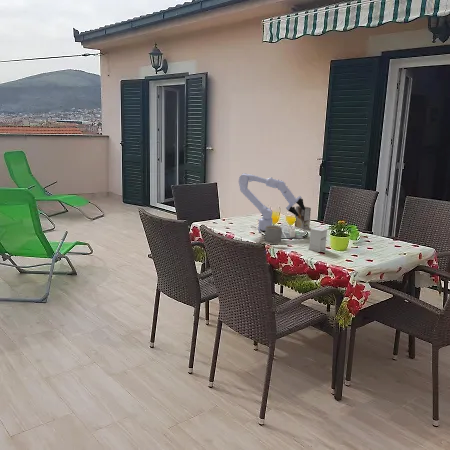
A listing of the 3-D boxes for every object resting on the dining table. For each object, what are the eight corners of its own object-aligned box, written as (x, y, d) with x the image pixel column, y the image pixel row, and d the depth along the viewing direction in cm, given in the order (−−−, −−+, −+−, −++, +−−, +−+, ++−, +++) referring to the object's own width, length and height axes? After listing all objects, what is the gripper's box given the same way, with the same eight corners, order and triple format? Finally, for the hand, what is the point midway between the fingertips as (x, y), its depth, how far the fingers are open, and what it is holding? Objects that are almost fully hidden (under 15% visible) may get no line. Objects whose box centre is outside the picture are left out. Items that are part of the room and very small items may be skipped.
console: (280, 240, 293) (280, 237, 293) (276, 232, 313) (277, 230, 313) (303, 240, 293) (303, 238, 293) (299, 233, 313) (299, 231, 313)
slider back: (287, 232, 309) (288, 225, 308) (287, 231, 312) (287, 225, 311) (292, 232, 309) (292, 226, 308) (291, 231, 312) (292, 225, 311)
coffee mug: (272, 245, 279) (273, 229, 277) (261, 242, 286) (262, 226, 284) (288, 243, 287) (289, 227, 285) (277, 239, 294) (278, 224, 292)
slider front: (290, 237, 295) (290, 230, 294) (289, 235, 298) (290, 229, 297) (295, 237, 295) (295, 230, 294) (294, 236, 298) (294, 229, 297)
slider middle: (289, 234, 302) (289, 228, 301) (288, 233, 305) (288, 227, 304) (293, 234, 302) (294, 228, 301) (293, 233, 305) (293, 227, 304)
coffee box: (309, 230, 325) (311, 207, 322) (303, 231, 321) (305, 208, 318) (300, 227, 332) (301, 205, 329) (293, 228, 328) (295, 206, 325)
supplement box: (319, 252, 269) (321, 231, 266) (308, 249, 273) (310, 228, 271) (325, 249, 274) (327, 229, 272) (314, 247, 279) (316, 226, 276)
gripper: (286, 200, 301) (298, 217, 302) (299, 189, 308) (310, 205, 309) (280, 203, 307) (292, 219, 308) (293, 192, 314) (304, 208, 315)
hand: (301, 212), depth 309 cm, fingers open, 7 cm apart
